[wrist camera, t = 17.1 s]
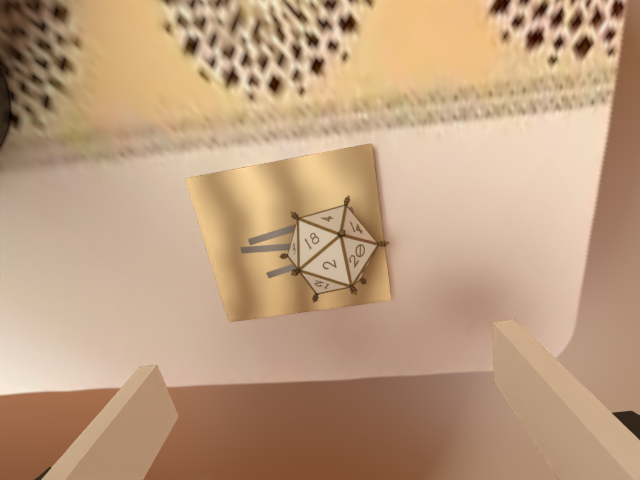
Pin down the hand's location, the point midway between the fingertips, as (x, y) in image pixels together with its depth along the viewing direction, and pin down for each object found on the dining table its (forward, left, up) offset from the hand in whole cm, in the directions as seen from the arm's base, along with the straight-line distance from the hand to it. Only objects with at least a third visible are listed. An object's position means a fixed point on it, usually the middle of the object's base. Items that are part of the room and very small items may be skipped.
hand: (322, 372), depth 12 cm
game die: (0, 0, -19) cm, 19 cm away
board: (-4, 0, -21) cm, 21 cm away
